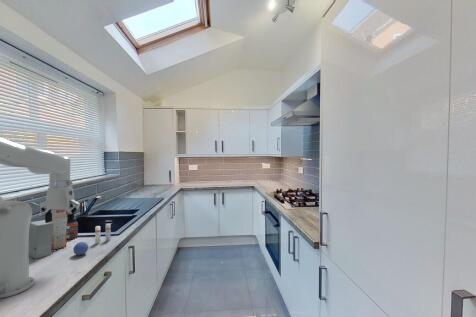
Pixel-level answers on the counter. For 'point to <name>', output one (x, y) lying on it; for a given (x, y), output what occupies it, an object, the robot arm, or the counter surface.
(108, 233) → the grey pin
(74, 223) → the supplement bottle
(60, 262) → the counter surface
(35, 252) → the skincare box
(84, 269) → the counter surface
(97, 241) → the cream pin
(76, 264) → the counter surface
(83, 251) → the ball
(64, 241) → the cracker box
